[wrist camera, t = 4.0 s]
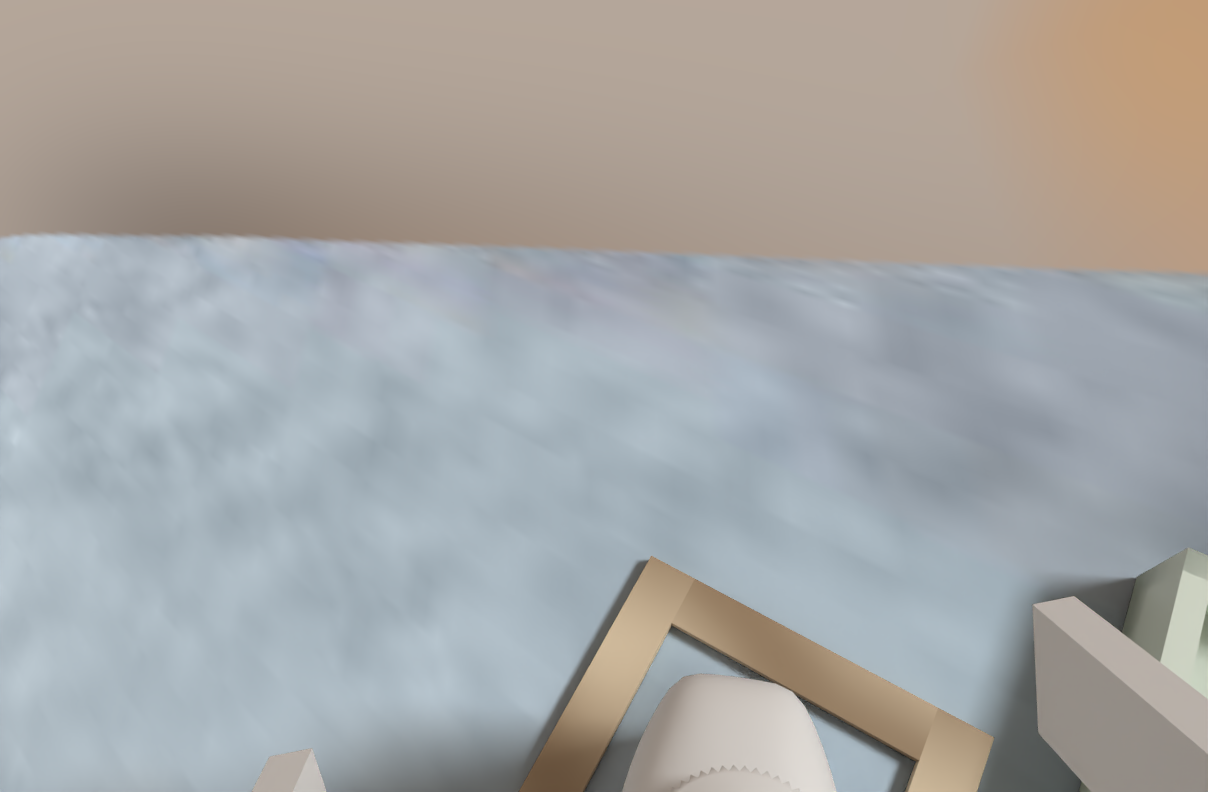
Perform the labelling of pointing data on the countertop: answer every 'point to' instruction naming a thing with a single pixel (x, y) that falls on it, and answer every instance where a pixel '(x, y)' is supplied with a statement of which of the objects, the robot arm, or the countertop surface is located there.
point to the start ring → (767, 648)
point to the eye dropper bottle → (729, 741)
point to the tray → (1173, 617)
